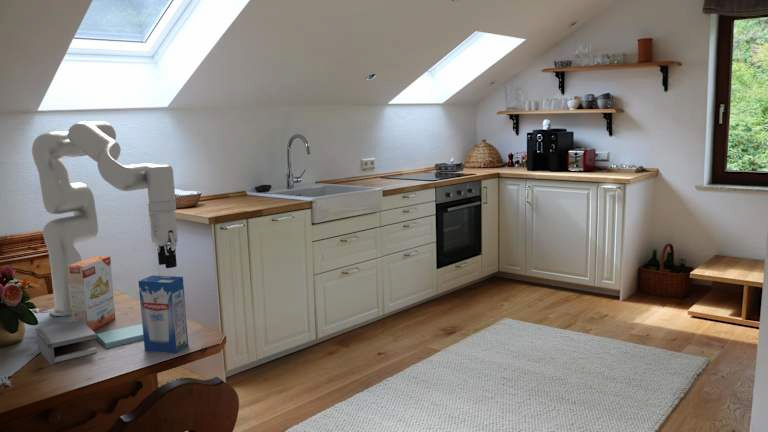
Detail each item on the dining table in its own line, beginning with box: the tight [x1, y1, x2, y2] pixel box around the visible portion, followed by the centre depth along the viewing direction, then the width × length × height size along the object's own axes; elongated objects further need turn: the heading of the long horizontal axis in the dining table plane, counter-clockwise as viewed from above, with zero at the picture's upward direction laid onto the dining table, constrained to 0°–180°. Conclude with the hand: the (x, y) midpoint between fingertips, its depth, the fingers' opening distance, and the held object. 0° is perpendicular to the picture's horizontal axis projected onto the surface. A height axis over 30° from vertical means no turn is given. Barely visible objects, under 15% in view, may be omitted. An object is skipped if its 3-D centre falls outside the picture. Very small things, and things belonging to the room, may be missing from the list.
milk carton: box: [138, 275, 189, 354], centre depth 182 cm, size 10×6×20 cm, turn 75°
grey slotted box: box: [35, 320, 98, 365], centre depth 183 cm, size 16×12×6 cm
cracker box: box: [67, 255, 116, 332], centre depth 203 cm, size 14×6×21 cm, turn 168°
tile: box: [95, 323, 144, 349], centre depth 194 cm, size 10×16×2 cm, turn 128°
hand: (167, 265), depth 198 cm, fingers open, 5 cm apart
